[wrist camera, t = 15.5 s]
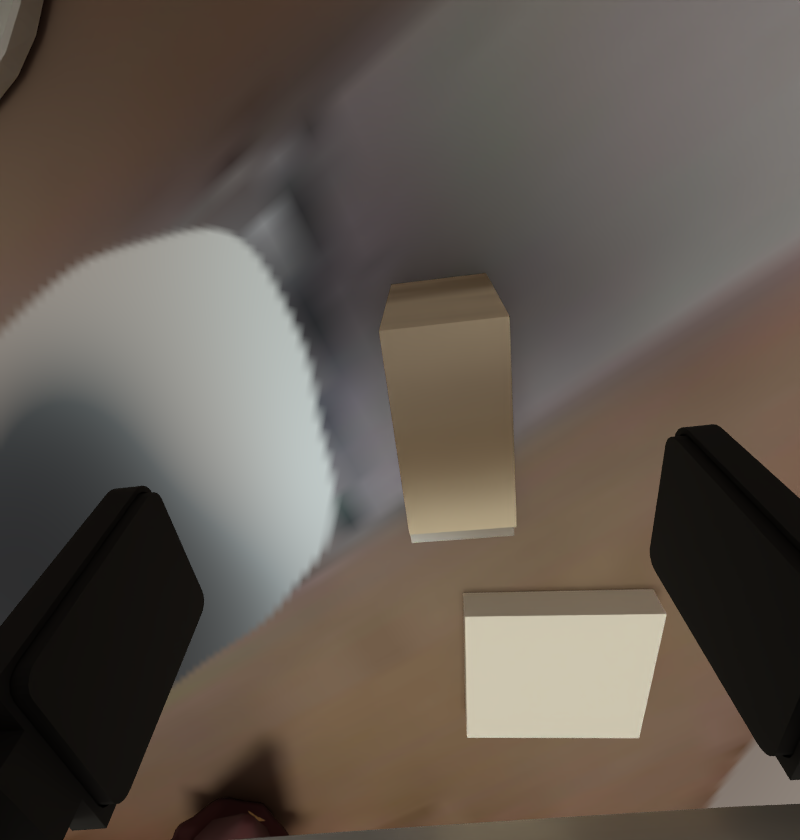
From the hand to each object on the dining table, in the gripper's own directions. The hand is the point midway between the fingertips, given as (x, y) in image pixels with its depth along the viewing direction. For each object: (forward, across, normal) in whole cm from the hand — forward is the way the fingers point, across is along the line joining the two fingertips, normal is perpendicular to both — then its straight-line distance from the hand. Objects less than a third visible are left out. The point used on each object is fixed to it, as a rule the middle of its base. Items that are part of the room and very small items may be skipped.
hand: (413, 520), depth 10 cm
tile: (+7, -5, +11) cm, 15 cm away
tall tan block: (+9, -1, +3) cm, 9 cm away
